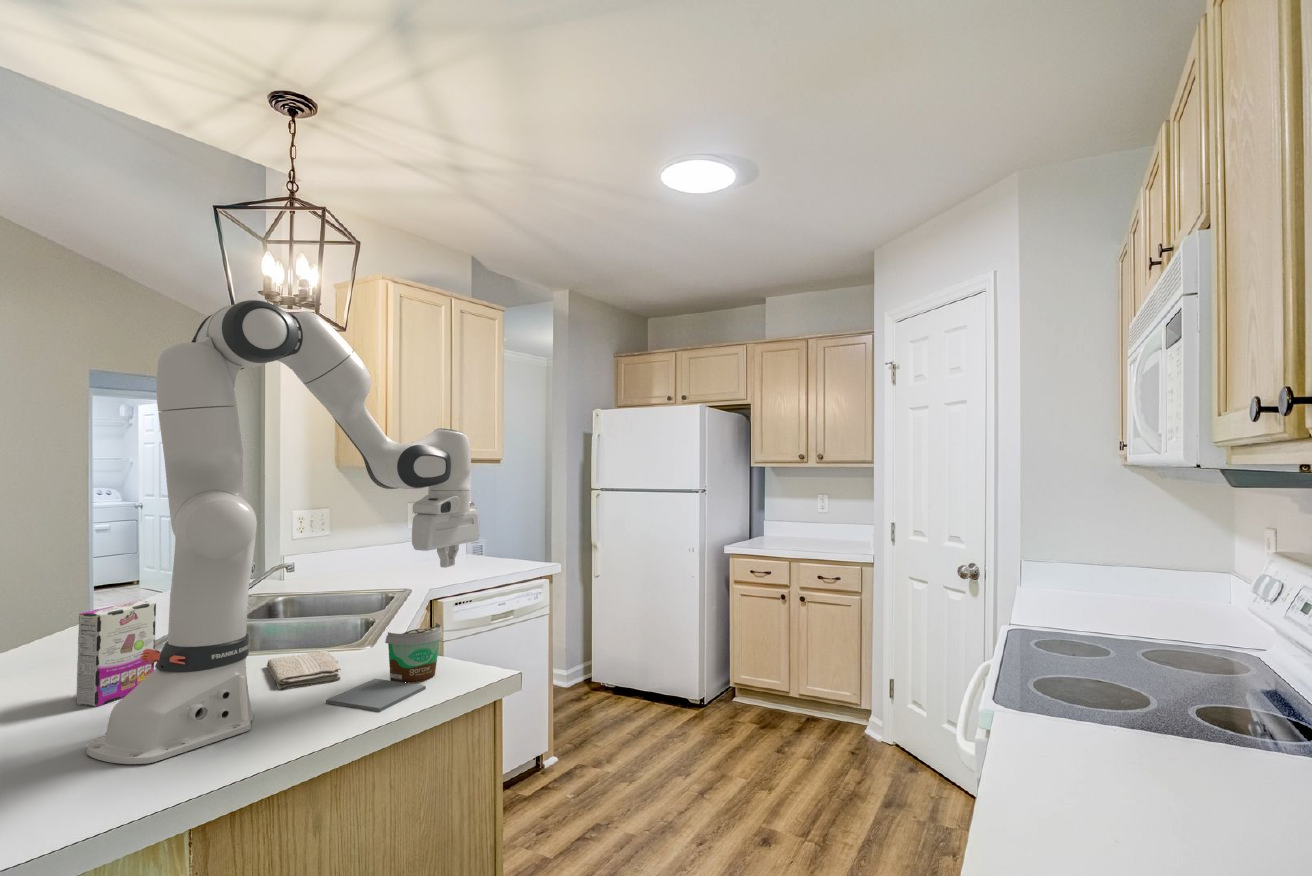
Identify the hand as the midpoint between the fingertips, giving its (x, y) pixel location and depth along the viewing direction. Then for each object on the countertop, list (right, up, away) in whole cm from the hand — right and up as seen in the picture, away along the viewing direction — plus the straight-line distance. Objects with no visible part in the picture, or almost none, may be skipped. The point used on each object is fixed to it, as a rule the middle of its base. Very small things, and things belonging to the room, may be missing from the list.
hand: (447, 566), depth 147 cm
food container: (-3, -22, -9) cm, 23 cm away
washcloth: (-28, -22, -7) cm, 36 cm away
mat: (-7, -21, -19) cm, 29 cm away
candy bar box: (-55, -20, -22) cm, 62 cm away
